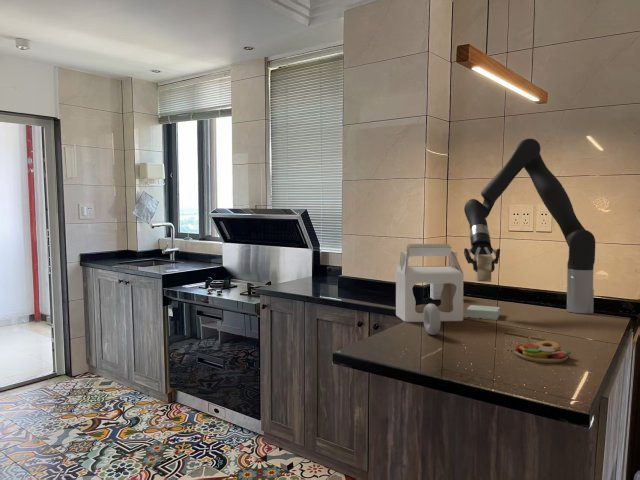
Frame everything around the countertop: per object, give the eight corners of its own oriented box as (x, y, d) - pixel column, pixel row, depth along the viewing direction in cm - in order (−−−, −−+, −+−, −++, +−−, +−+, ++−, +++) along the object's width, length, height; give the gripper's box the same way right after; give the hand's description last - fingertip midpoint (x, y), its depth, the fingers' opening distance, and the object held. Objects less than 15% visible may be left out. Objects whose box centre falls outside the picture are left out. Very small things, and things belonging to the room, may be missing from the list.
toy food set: (553, 351, 133) (553, 339, 133) (581, 364, 119) (581, 352, 119) (506, 351, 132) (506, 339, 132) (528, 365, 119) (528, 352, 119)
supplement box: (452, 299, 223) (452, 268, 222) (432, 299, 223) (433, 268, 222) (447, 297, 232) (447, 266, 231) (428, 297, 232) (429, 266, 231)
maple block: (489, 280, 184) (489, 254, 184) (491, 281, 179) (491, 255, 179) (475, 280, 185) (475, 254, 185) (477, 281, 180) (477, 255, 180)
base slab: (499, 315, 185) (499, 307, 185) (496, 320, 175) (496, 311, 175) (470, 313, 190) (470, 305, 190) (466, 318, 180) (466, 309, 180)
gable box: (404, 322, 171) (404, 244, 170) (395, 315, 184) (395, 243, 183) (463, 321, 173) (464, 244, 172) (450, 314, 186) (451, 243, 185)
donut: (421, 331, 156) (421, 301, 156) (431, 331, 156) (431, 300, 156) (431, 338, 146) (431, 306, 146) (442, 338, 147) (442, 306, 146)
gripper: (462, 231, 190) (465, 263, 179) (500, 231, 188) (505, 264, 176) (460, 244, 196) (463, 276, 184) (497, 244, 193) (502, 277, 182)
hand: (484, 270), depth 180 cm, fingers closed on maple block, 5 cm apart
